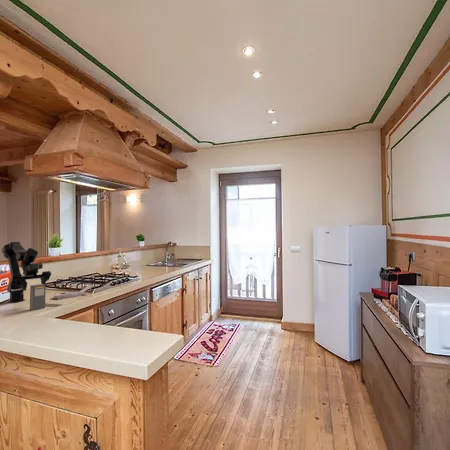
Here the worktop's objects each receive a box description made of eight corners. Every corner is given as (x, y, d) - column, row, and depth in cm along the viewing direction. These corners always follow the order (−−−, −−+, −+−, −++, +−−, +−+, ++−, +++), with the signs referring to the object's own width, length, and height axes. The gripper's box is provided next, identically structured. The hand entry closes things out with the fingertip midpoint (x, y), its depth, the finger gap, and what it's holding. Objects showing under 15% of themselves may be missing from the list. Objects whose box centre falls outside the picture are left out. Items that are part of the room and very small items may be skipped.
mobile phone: (93, 285, 188) (53, 291, 169) (93, 294, 188) (53, 300, 168) (89, 285, 192) (50, 290, 172) (89, 293, 192) (49, 299, 172)
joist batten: (38, 305, 155) (38, 305, 155) (45, 303, 159) (45, 303, 159) (55, 306, 152) (55, 306, 152) (62, 304, 156) (62, 303, 156)
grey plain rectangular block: (29, 309, 146) (30, 285, 147) (42, 307, 151) (42, 283, 152) (32, 310, 144) (33, 286, 145) (45, 308, 149) (45, 284, 150)
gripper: (12, 259, 147) (19, 281, 140) (50, 257, 162) (58, 277, 155) (7, 273, 151) (13, 295, 144) (44, 270, 166) (52, 289, 159)
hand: (35, 288), depth 150 cm, fingers open, 9 cm apart
